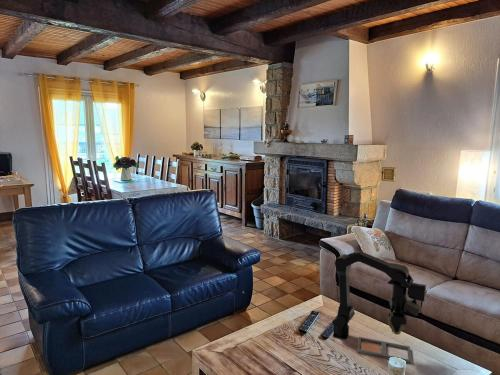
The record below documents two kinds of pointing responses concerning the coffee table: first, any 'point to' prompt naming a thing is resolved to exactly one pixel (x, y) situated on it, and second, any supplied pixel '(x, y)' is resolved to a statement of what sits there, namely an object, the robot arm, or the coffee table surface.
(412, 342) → the coffee table surface
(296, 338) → the coffee table surface
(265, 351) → the coffee table surface
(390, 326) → the bronze ornate bell
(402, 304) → the robot arm
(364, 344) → the grey double frame
